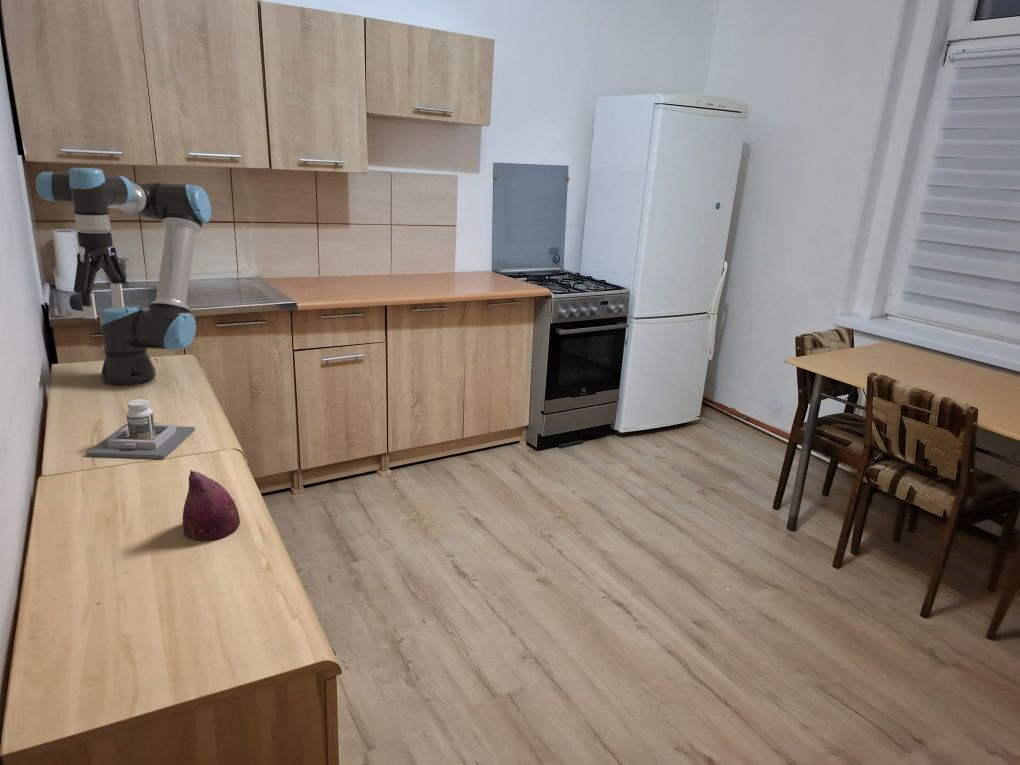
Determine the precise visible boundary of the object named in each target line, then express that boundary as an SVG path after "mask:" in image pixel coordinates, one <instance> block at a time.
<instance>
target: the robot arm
mask: <svg viewBox="0 0 1020 765" xmlns="http://www.w3.org/2000/svg"><path fill="white" fill-rule="evenodd" d="M35 189H36V192H37V194H38V196H39V197H40V198H41V199H43V200H44V201H48V202H54V203H68V204H72V206H73V213H74V220H75V227H76V228H75V229H76V230H77V231H78V232H77V234H76V235H77V242H78V246H79V247H80V248H83V249H84V253H81V252H77V254H76V261H77V262H76V269H75V270H76V271H75V277H74V285H73V292H74V293H76V294H80V297H81V298H80V299H81V303H82V310H83V318H84V319H89V320H90V319H92V320H94V319H98V315H97V309H96V302H95V294H94V292H92V290H93V286H94V283H95V280H96V276H97V273H98V272H99V271H100V270H101V269H102V270H103V271H104V273H105V275H106V276H107V278H108V279H109V280H110V281H111V283H109V287H110V295H111V305H112V307H109V308H106V309H104V310H102V311H101V312H100V315H99V319H100V321H99V323H100V324H99V326H100V329H101V336H102V343H103V348H104V349H103V350H104V360H103V364H102V368H101V376H100V377H101V381H102V383H105V384H109V385H115V386H120V385H121V386H122V385H123V386H124V385H126V386H127V385H135V384H141V383H145V382H149V381H151V380H153V379H154V378H156V376H157V374H156V373H157V372H156V368H155V366H154V364H153V362H152V360H151V358H150V356H149V354H148V349H153V350H154V349H157V350H168V351H174V350H175V351H177V350H179V351H181V350H185V349H186V348H188V347H189V346H190V345H191V344H192V342H193V341H194V339H195V336H196V332H197V325H196V323H197V322H196V318H195V316H194V315H193V314H191V309H190V307H189V306H188V304H187V300H188V299H187V298H188V291H189V284H190V278H191V271H192V263H193V262H192V261H193V255H194V248H195V240H196V235H197V234H198V233H199V232H201V231H202V228H203V224H206V223H209V222H210V220H211V218H212V205H211V201H210V198H209V195H208V193H207V192H206V190H205V189H204V188H203V187H201V186H199V185H195V184H194V185H192V184H188V183H187V184H184V183H183V184H182V183H181V184H179V183H178V184H177V183H165V182H164V183H161V182H141V183H139V182H131V181H130V179H129V178H127V177H125V176H122V175H118V174H112V175H105V174H104V171H103V170H102V169H101V168H97V167H96V168H94V167H71V168H70V169H69V170H68V172H56V171H43V172H40V173H39V174H38V175H37V176H36V179H35ZM109 208H110V209H117V210H120V211H122V212H123V213H125V214H129V215H134V216H139V217H144V218H148V219H152V220H157V221H161V223H162V225H163V226H164V227H165V234H164V240H163V247H162V254H161V261H160V269H159V276H158V282H157V287H156V288H157V289H156V290H157V291H156V296H155V297H156V298H155V300H153V301H151V302H150V303H149V306H148V311H147V310H146V311H145V310H143V307H142V305H141V304H125V303H124V302H125V301H124V296H123V295H124V293H123V286H122V284H125V283H126V280H127V278H126V274H125V272H124V269H123V267H122V265H121V262H120V259H119V257H118V255H117V250H116V247H113V245H114V243H113V237H112V236H113V235H112V233H111V232H110V230H112V227H111V220H110V213H109Z"/></svg>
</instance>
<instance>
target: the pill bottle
mask: <svg viewBox="0 0 1020 765" xmlns="http://www.w3.org/2000/svg"><path fill="white" fill-rule="evenodd" d="M127 408H128V410H127V412H126V421H127V424H128V430H129V437H130V439H132V440H152V439H153V438H154V437H155V429H154V423H155V422H154V412H153V410H152V409H151V408H150V400H148V399H145V398H139V399H138V398H137V399H133V400H129V401H128V402H127Z"/></svg>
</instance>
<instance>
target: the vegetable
mask: <svg viewBox="0 0 1020 765" xmlns="http://www.w3.org/2000/svg"><path fill="white" fill-rule="evenodd" d="M187 490H188V491H187V495H186V497H185V501H184V505H183V509H182V527H183V536H185V537H186V538H188V539H190V540H194V541H197V542H206V541H215V540H221V539H223V538H226V537H228V536H230V535H232V534H233V533H236V531H237V530H238V528H239V526H240V524H241V519H240V514H239V511H238V507H237V505H236V502H235V500H234V499H233V497H232V496H231V494H230V493H229V491H228V490H227V489H226V488H224V487H223V485H221V484H220V483H219V482H217V481H216V480H214V479H213V478H210V477H208V476H206V475H205V474H203V473H201V472H200V471H195V470H192V469H190V473H189V475H188V489H187Z"/></svg>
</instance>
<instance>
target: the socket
mask: <svg viewBox="0 0 1020 765" xmlns="http://www.w3.org/2000/svg"><path fill="white" fill-rule="evenodd" d="M154 429H155V437H154V438H153V439H152V440H132V439H130V437H129V430H128V423H125V424H124V425H122V426H121V427H119V428H118V429H117V430H116V431H114V432H113V433H111V434H110V435H109V436H107V437H106V438H104V439H103V440H102V441H100V442H99V443H98V444H96V445H95V446H93V447H92V448H90V449H89V450H88V451H86V456H87V457H99V458H101V457H103V458H126V459H127V458H128V459H130V458H131V459H150V460H151V459H153V460H165V459H166V458H167V457H168V456H169V455H171V454H172V452H174V451H175V450H176V449H178V447H179V446H180V445H181V444H182V443H183V442H184V441H185V440H187V439H188V437H190V436H191V435H192V434H193V433H194V432H195V431H196V427H195V426H182V425H181V426H179V425H176V424H166V423H165V424H162V423H161V422H160V423H159V422H158V423H155V422H154Z"/></svg>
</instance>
